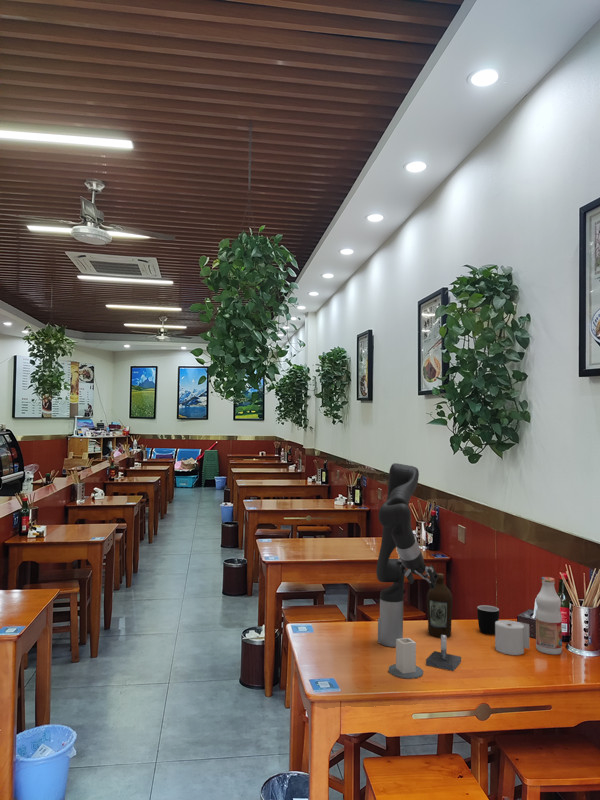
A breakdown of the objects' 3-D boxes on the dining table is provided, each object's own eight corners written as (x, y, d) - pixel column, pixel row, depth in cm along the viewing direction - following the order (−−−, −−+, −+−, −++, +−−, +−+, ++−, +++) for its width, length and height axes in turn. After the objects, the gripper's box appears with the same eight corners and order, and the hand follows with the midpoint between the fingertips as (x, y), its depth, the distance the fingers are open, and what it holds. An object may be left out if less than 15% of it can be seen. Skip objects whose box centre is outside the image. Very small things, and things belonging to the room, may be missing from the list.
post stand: (425, 665, 205) (426, 636, 206) (434, 656, 213) (434, 629, 214) (453, 671, 200) (453, 642, 201) (461, 662, 208) (461, 634, 209)
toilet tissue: (489, 649, 222) (489, 623, 223) (506, 642, 230) (505, 617, 231) (515, 657, 214) (514, 630, 215) (531, 650, 222) (530, 624, 223)
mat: (383, 673, 196) (383, 671, 196) (395, 662, 207) (395, 660, 207) (416, 681, 190) (416, 679, 190) (427, 669, 200) (427, 668, 200)
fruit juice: (531, 646, 227) (531, 575, 229) (554, 646, 227) (554, 575, 229) (542, 655, 218) (542, 580, 220) (566, 655, 218) (565, 581, 220)
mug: (502, 635, 239) (502, 611, 239) (482, 635, 238) (482, 611, 239) (491, 626, 251) (491, 603, 251) (471, 626, 250) (471, 603, 251)
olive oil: (428, 628, 246) (429, 570, 248) (454, 632, 242) (454, 572, 244) (424, 636, 236) (425, 575, 238) (450, 640, 232) (451, 578, 234)
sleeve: (402, 673, 195) (403, 643, 196) (395, 668, 200) (396, 639, 201) (415, 672, 197) (415, 642, 198) (408, 666, 202) (408, 637, 202)
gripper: (432, 547, 190) (445, 581, 197) (397, 540, 200) (410, 572, 207) (422, 564, 186) (435, 598, 192) (386, 555, 196) (400, 587, 202)
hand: (422, 584), depth 200 cm, fingers open, 8 cm apart
